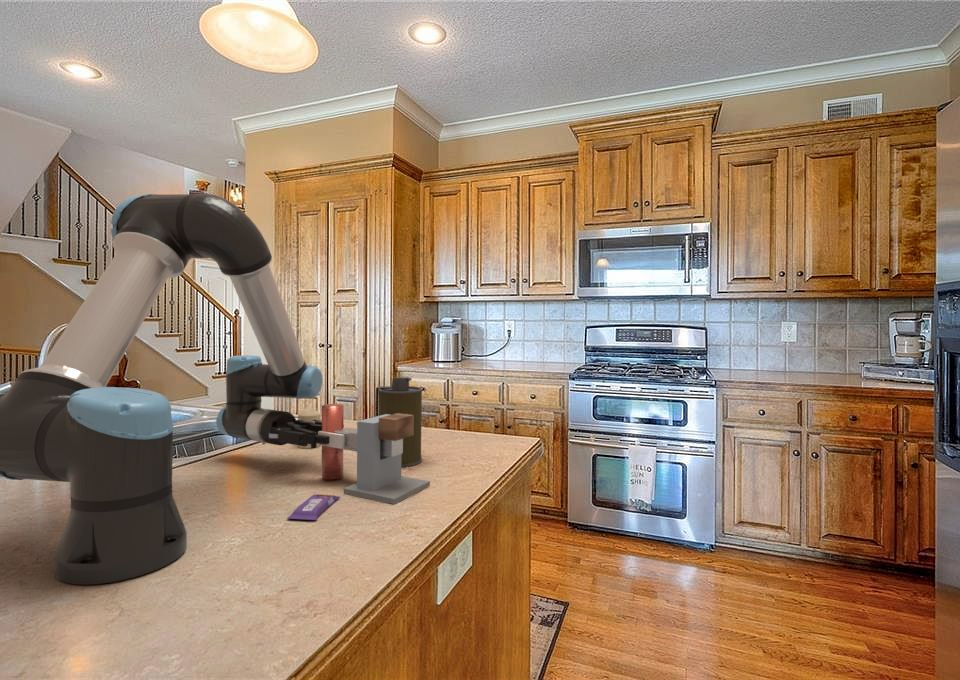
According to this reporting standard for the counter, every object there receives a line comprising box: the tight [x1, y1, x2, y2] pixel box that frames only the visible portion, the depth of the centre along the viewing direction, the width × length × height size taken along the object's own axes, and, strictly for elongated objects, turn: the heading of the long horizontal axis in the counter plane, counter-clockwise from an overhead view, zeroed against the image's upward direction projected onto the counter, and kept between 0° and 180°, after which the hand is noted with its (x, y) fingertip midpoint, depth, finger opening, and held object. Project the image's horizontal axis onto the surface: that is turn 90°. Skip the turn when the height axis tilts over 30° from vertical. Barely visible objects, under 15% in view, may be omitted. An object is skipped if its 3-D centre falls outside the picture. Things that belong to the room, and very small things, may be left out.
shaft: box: [321, 403, 403, 480], centre depth 106 cm, size 4×19×15 cm, turn 63°
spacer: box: [379, 413, 414, 441], centre depth 101 cm, size 6×4×4 cm, turn 153°
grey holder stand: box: [343, 414, 431, 505], centre depth 102 cm, size 12×12×14 cm
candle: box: [297, 407, 321, 449], centre depth 136 cm, size 6×6×10 cm
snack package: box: [287, 493, 341, 521], centre depth 92 cm, size 12×2×5 cm
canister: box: [375, 376, 423, 468], centre depth 123 cm, size 11×10×20 cm
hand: (351, 439), depth 107 cm, fingers closed on shaft, 4 cm apart
